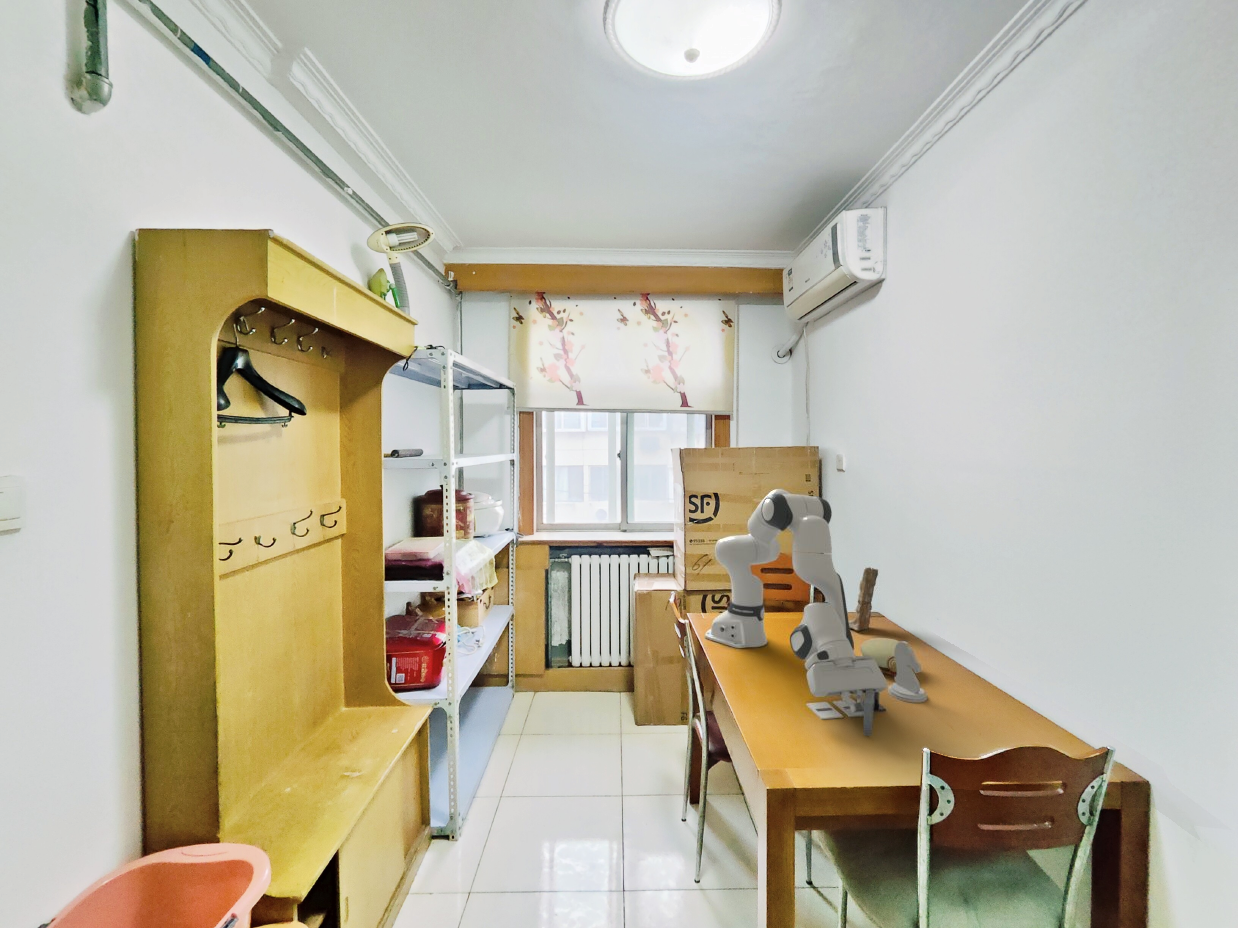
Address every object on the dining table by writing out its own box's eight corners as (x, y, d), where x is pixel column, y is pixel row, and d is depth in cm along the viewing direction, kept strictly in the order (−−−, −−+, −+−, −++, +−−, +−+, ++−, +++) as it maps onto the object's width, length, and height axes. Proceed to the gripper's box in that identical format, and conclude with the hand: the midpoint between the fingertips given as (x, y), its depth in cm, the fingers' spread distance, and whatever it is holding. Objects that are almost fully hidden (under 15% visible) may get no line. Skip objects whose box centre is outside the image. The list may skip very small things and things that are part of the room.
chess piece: (909, 705, 148) (910, 651, 147) (880, 690, 157) (881, 639, 156) (935, 698, 151) (935, 646, 151) (904, 684, 160) (905, 635, 160)
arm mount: (874, 701, 149) (874, 700, 149) (885, 710, 144) (885, 708, 144) (857, 703, 149) (857, 701, 149) (868, 712, 144) (868, 710, 144)
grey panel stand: (864, 700, 149) (865, 668, 149) (879, 703, 147) (879, 671, 147) (859, 734, 132) (859, 698, 131) (875, 737, 130) (875, 701, 130)
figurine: (847, 625, 218) (853, 563, 220) (873, 631, 211) (879, 568, 213) (834, 626, 210) (840, 562, 212) (860, 633, 203) (867, 567, 205)
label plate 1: (826, 703, 149) (826, 701, 149) (842, 717, 141) (842, 715, 141) (806, 704, 148) (806, 703, 148) (821, 719, 140) (821, 717, 140)
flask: (906, 660, 178) (925, 686, 160) (855, 657, 181) (868, 682, 163) (907, 633, 177) (926, 656, 160) (855, 630, 180) (869, 652, 163)
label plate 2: (853, 701, 150) (853, 699, 150) (870, 715, 142) (870, 713, 142) (833, 702, 149) (833, 701, 149) (849, 716, 141) (849, 715, 141)
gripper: (867, 659, 149) (890, 712, 139) (798, 664, 145) (816, 718, 136) (878, 650, 144) (902, 703, 135) (807, 654, 141) (826, 709, 132)
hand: (858, 711), depth 135 cm, fingers closed
